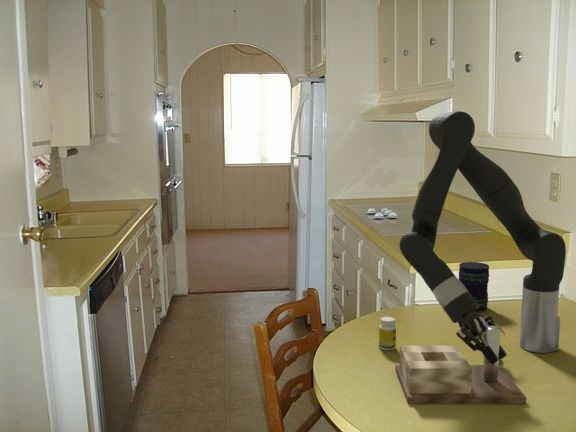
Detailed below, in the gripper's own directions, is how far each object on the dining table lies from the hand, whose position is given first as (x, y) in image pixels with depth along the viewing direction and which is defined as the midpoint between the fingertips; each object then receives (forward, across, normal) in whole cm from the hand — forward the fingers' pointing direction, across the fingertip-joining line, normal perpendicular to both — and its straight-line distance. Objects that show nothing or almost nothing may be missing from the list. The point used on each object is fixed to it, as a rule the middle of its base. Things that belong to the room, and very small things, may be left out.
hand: (499, 359), depth 139 cm
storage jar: (-20, +53, +31) cm, 64 cm away
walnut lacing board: (0, -6, +11) cm, 12 cm away
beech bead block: (-4, -10, +12) cm, 16 cm away
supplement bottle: (-19, +3, +30) cm, 35 cm away
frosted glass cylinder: (+3, 0, +6) cm, 6 cm away
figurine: (-2, +16, +13) cm, 20 cm away
